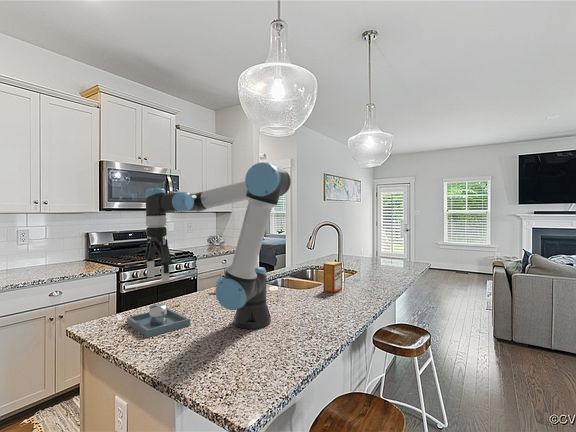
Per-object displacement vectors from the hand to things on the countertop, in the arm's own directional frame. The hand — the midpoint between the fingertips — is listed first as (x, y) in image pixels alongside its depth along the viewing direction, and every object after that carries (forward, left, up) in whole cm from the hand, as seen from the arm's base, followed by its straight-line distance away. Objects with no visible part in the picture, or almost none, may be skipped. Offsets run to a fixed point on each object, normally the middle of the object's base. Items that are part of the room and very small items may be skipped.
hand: (158, 279), depth 131 cm
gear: (+24, -48, -19) cm, 57 cm away
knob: (0, 0, -18) cm, 18 cm away
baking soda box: (-19, -92, -19) cm, 96 cm away
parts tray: (0, 0, -19) cm, 19 cm away
